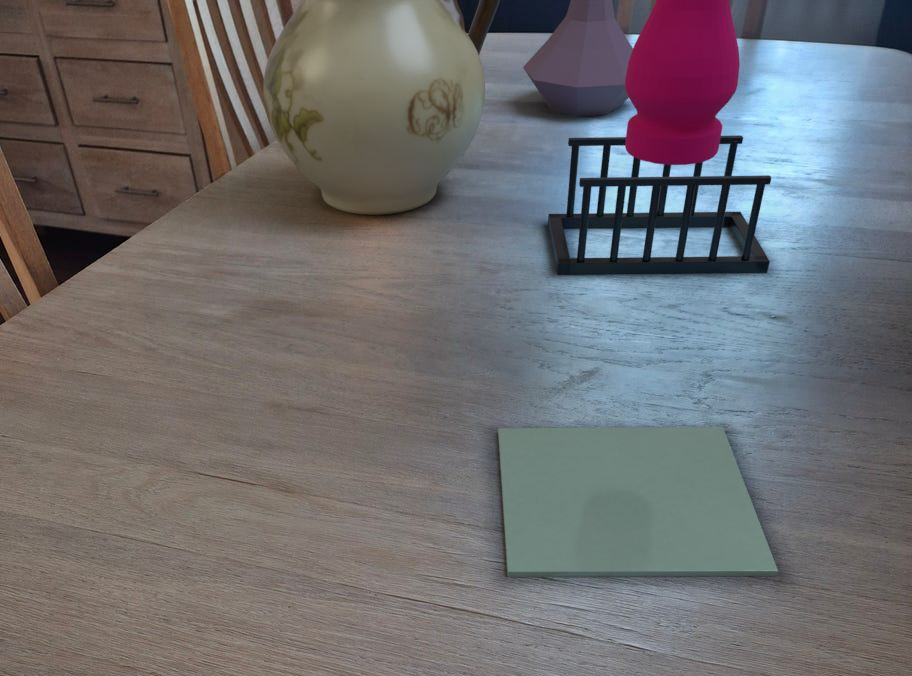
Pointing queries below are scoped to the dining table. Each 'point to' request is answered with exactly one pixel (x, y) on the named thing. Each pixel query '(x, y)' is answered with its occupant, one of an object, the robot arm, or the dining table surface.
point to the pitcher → (377, 97)
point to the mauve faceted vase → (583, 62)
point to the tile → (627, 504)
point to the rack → (656, 219)
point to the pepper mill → (681, 81)
